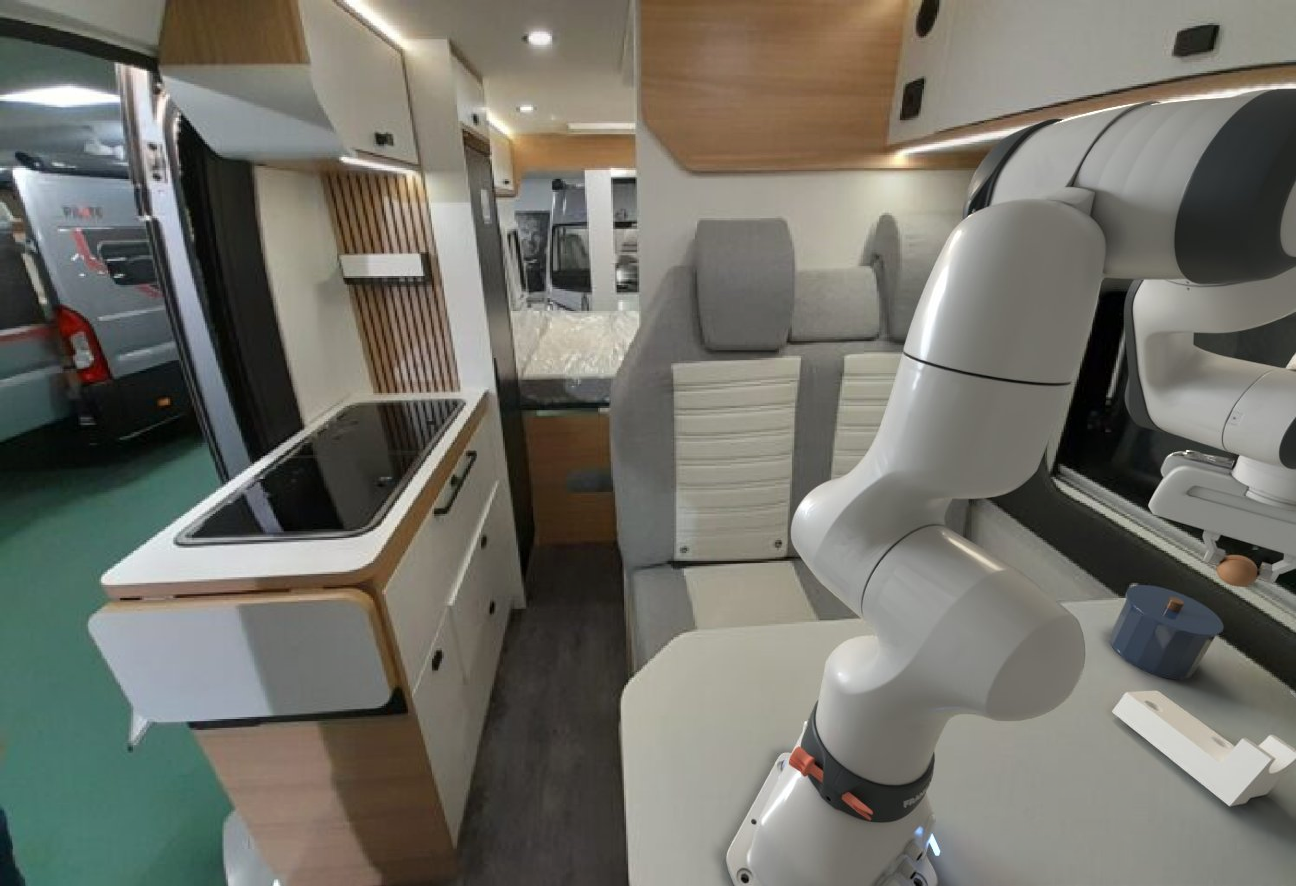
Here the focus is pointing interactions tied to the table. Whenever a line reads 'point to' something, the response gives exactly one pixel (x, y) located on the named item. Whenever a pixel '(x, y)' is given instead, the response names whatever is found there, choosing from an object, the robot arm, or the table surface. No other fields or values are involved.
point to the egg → (1237, 570)
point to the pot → (1156, 645)
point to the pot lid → (1174, 611)
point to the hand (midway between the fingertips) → (1237, 570)
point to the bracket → (1207, 748)
